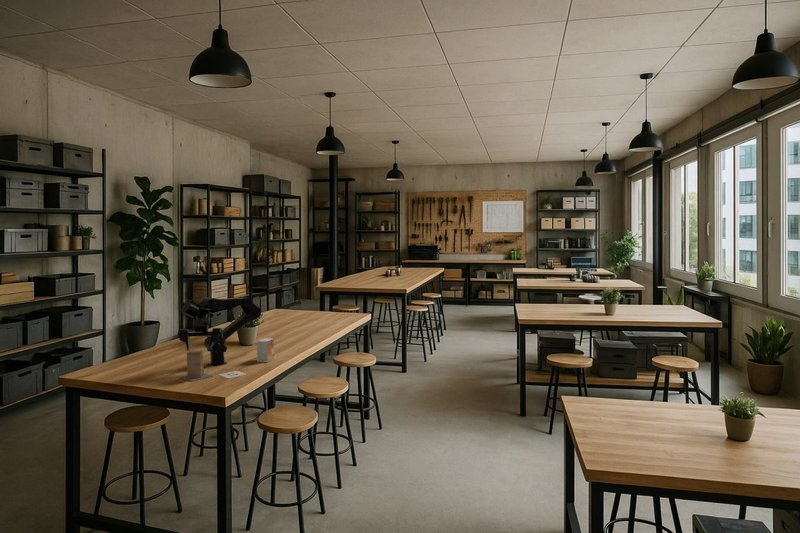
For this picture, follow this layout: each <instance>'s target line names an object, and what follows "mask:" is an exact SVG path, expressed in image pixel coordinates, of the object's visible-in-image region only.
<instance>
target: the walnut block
mask: <svg viewBox="0 0 800 533" xmlns="http://www.w3.org/2000/svg"><path fill="white" fill-rule="evenodd" d="M204 364H205V363H204V350H203V349H198V350H197V349H193V350H191V349H190V350H189V351H187V352H186V371H187V376H188V378H201V377H202V376H203V375H204V373H205V372H204V371H205V369H204V368H205V366H204Z"/></svg>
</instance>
